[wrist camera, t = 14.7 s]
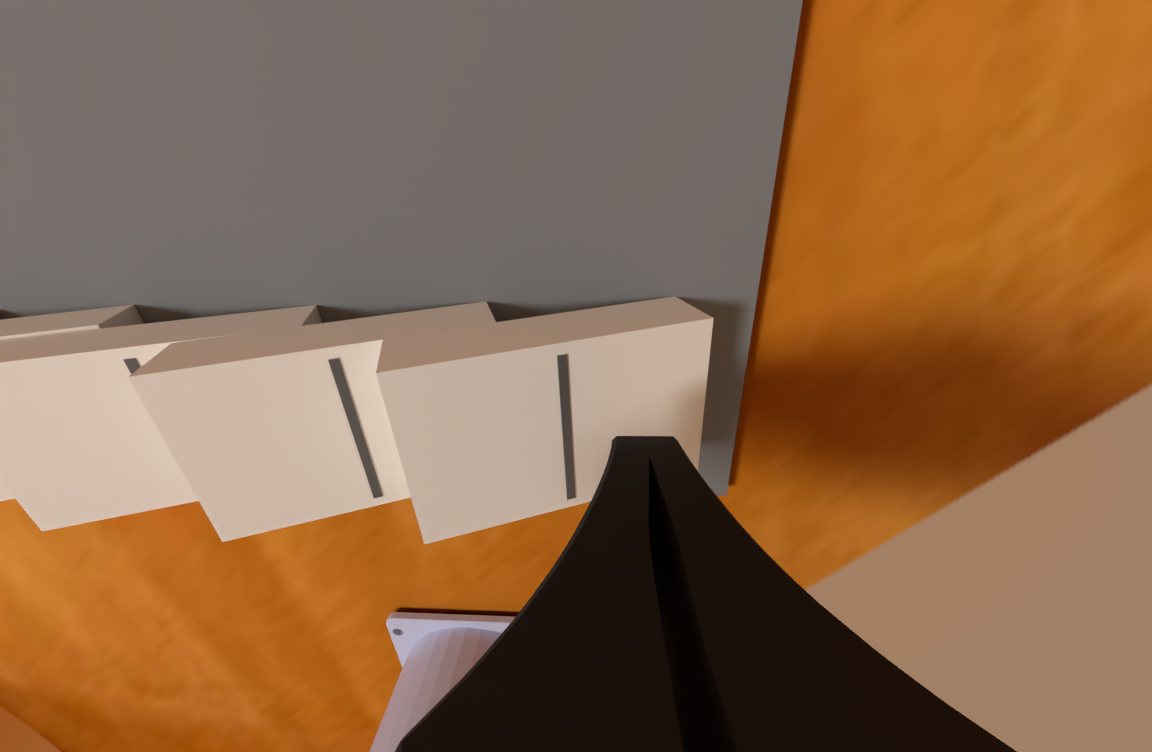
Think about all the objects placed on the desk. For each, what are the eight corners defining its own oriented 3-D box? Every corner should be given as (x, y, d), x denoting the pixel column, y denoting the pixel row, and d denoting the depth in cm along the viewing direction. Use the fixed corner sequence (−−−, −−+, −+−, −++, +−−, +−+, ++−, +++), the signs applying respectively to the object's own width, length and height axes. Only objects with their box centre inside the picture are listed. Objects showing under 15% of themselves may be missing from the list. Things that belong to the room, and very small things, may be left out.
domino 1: (300, 327, 12) (-89, 373, 10) (349, 471, 14) (41, 531, 12) (316, 304, 14) (-11, 340, 12) (358, 437, 16) (89, 484, 14)
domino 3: (714, 318, 11) (375, 373, 9) (697, 474, 13) (424, 545, 11) (674, 296, 13) (382, 338, 11) (665, 437, 15) (424, 493, 13)
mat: (722, 484, 17) (726, 495, 16) (93, 475, 19) (78, 484, 18) (809, -105, 9) (821, -119, 9) (-246, -15, 11) (-287, -23, 11)
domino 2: (496, 322, 12) (127, 377, 10) (516, 473, 14) (221, 543, 12) (486, 300, 13) (171, 343, 11) (505, 437, 16) (247, 492, 14)
